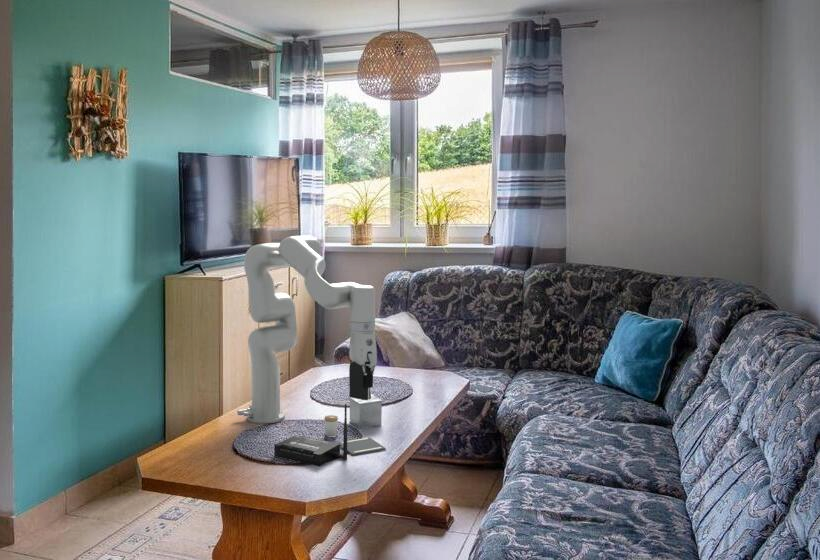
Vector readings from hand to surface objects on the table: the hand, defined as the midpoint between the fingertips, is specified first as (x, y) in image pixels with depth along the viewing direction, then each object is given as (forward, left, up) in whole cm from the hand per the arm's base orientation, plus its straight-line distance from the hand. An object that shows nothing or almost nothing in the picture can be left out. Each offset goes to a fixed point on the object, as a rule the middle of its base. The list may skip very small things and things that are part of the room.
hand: (361, 384), depth 216 cm
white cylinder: (-4, +14, -20) cm, 24 cm away
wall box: (+11, +20, -20) cm, 30 cm away
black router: (-16, -1, -20) cm, 26 cm away
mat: (0, 0, -20) cm, 20 cm away
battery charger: (0, 0, -5) cm, 5 cm away
